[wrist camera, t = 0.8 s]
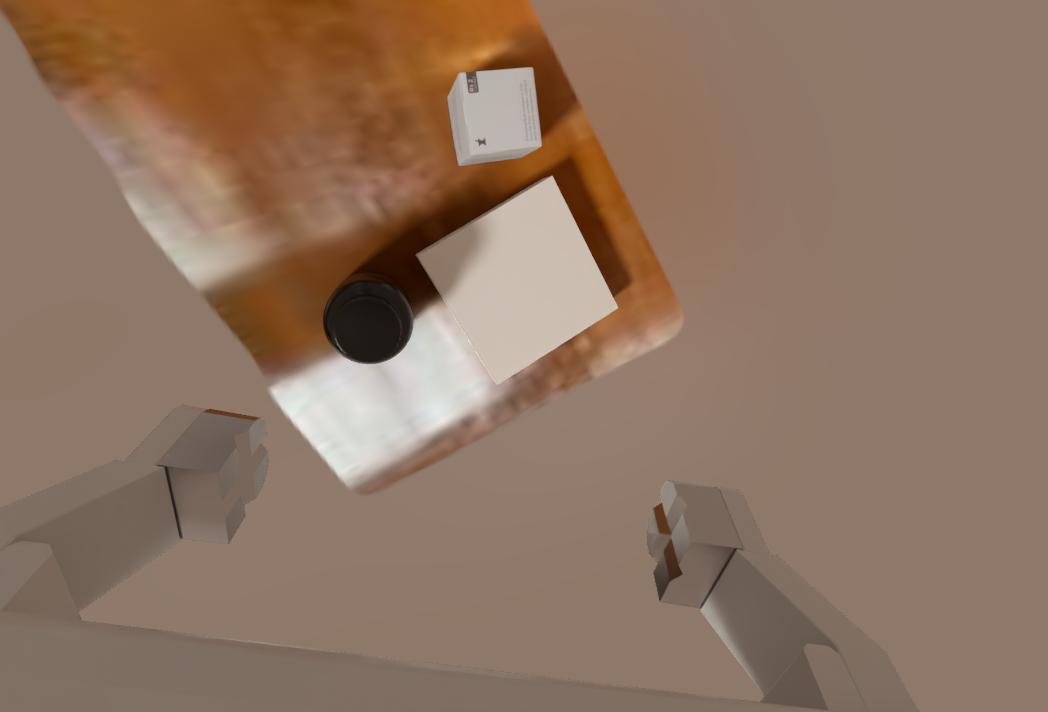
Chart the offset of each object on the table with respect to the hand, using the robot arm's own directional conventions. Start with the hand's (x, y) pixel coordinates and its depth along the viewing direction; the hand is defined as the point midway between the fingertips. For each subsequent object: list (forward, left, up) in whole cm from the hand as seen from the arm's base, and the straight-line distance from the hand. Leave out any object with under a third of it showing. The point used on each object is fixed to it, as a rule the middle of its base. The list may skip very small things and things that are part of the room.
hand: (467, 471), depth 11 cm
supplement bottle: (+1, -3, -41) cm, 42 cm away
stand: (+6, +10, -41) cm, 43 cm away
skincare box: (-8, +14, -41) cm, 44 cm away
